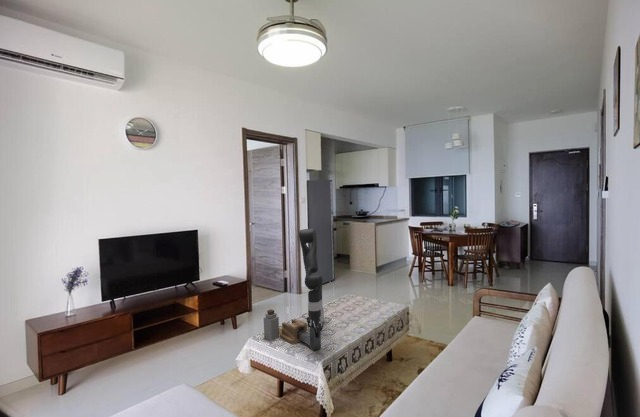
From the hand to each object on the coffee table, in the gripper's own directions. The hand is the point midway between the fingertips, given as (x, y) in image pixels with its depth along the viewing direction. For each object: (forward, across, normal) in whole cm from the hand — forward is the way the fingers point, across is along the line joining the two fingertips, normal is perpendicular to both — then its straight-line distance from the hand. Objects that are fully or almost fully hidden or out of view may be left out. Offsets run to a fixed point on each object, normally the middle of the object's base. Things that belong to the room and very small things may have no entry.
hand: (315, 336), depth 209 cm
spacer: (+6, +31, 0) cm, 31 cm away
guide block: (+8, +22, 0) cm, 23 cm away
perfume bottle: (+8, +32, +11) cm, 34 cm away
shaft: (+7, +12, 0) cm, 14 cm away
